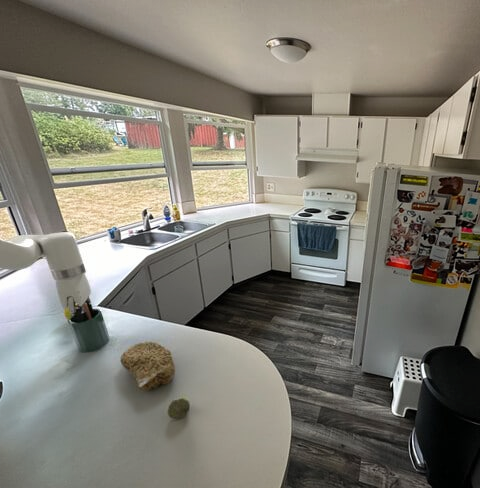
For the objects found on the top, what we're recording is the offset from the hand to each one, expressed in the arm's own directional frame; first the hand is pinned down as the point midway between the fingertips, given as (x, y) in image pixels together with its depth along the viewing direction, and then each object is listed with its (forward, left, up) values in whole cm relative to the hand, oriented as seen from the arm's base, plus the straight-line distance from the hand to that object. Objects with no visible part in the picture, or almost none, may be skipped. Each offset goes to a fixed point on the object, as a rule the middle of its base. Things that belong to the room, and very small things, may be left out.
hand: (85, 318), depth 86 cm
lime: (+28, -42, -11) cm, 52 cm away
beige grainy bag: (+19, -22, -11) cm, 31 cm away
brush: (0, 0, -11) cm, 11 cm away
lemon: (-10, +19, -11) cm, 24 cm away
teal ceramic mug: (0, 0, -11) cm, 11 cm away
